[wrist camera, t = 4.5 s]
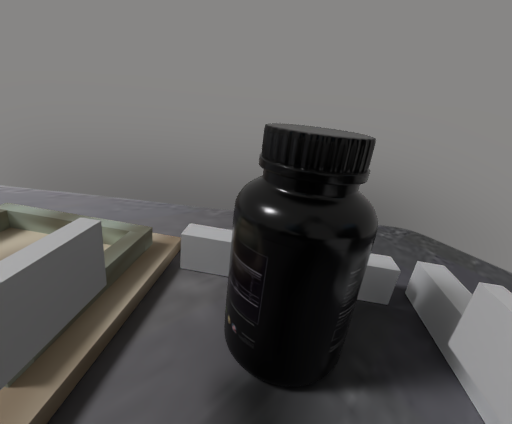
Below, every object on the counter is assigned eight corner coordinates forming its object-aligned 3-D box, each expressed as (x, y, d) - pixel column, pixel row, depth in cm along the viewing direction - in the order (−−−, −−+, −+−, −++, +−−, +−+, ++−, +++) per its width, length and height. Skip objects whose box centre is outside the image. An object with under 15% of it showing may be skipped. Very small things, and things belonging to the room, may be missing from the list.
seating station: (181, 247, 24) (182, 222, 23) (13, 467, 10) (-3, 420, 9) (12, 218, 25) (7, 192, 24) (-379, 376, 11) (-430, 326, 10)
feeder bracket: (430, 297, 22) (444, 265, 21) (627, 566, 9) (691, 520, 8) (188, 255, 23) (190, 223, 22) (62, 440, 10) (50, 386, 9)
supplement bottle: (297, 291, 21) (334, 126, 16) (363, 370, 15) (447, 149, 11) (208, 309, 18) (223, 113, 13) (247, 414, 12) (295, 135, 8)
